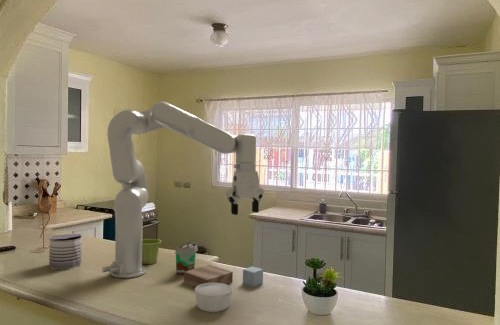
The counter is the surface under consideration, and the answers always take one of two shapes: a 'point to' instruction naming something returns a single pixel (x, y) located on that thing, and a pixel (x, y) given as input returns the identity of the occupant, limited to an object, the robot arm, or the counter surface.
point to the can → (65, 251)
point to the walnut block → (207, 275)
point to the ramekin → (213, 296)
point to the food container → (185, 257)
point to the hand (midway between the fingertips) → (245, 213)
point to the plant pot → (150, 250)
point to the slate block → (253, 276)
